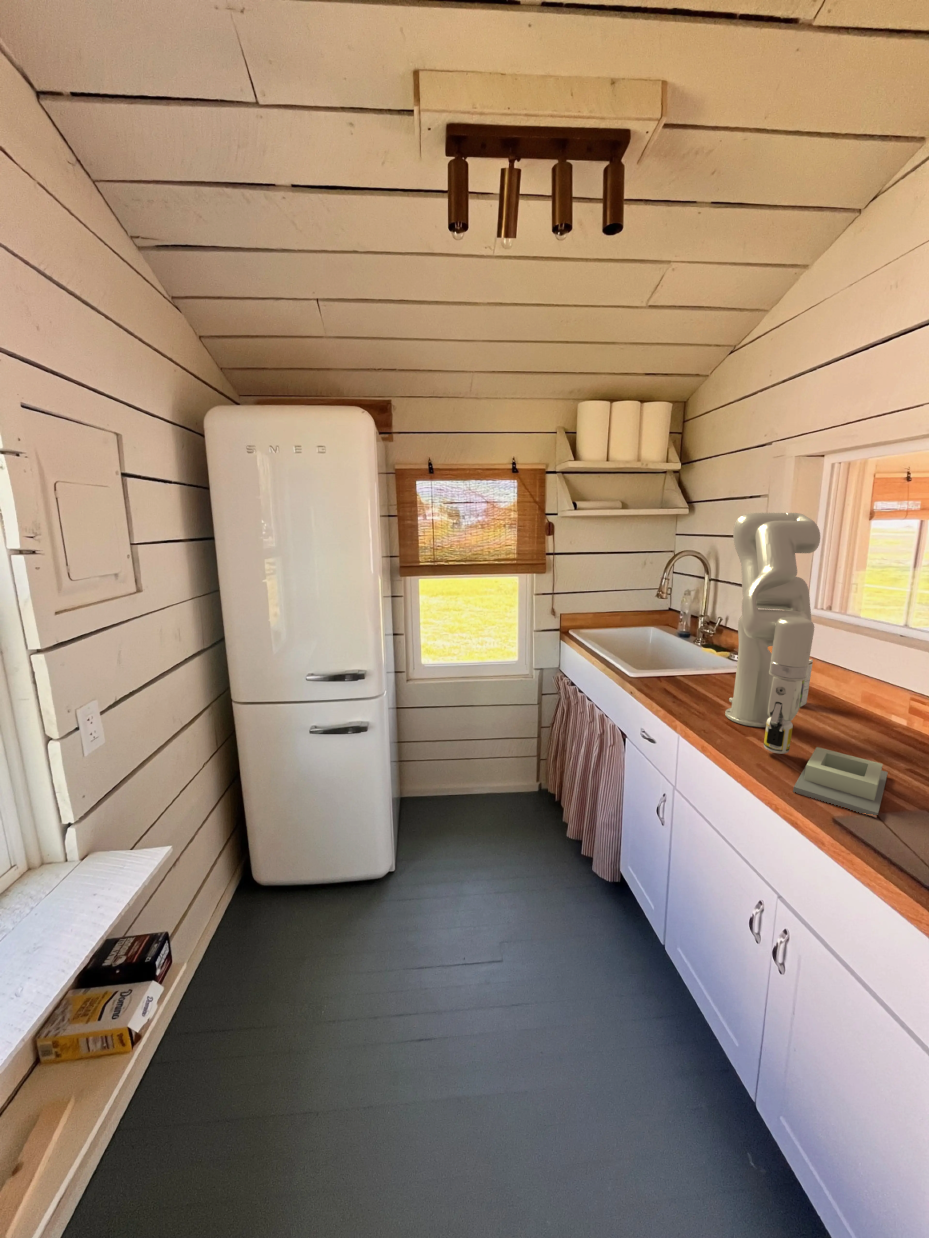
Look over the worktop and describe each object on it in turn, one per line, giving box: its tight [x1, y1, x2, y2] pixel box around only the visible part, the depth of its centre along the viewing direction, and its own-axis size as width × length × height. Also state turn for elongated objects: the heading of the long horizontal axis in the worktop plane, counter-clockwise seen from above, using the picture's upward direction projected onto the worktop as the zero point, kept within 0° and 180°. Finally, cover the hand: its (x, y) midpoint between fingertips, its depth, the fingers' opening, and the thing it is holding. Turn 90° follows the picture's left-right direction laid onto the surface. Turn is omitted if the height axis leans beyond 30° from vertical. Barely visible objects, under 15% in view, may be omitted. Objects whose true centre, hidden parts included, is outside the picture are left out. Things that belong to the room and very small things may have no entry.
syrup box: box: [799, 659, 814, 708], centre depth 157 cm, size 6×6×14 cm
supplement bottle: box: [763, 715, 794, 755], centre depth 123 cm, size 5×5×10 cm
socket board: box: [792, 746, 889, 816], centre depth 110 cm, size 22×14×5 cm, turn 137°
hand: (777, 739), depth 123 cm, fingers closed on supplement bottle, 5 cm apart
